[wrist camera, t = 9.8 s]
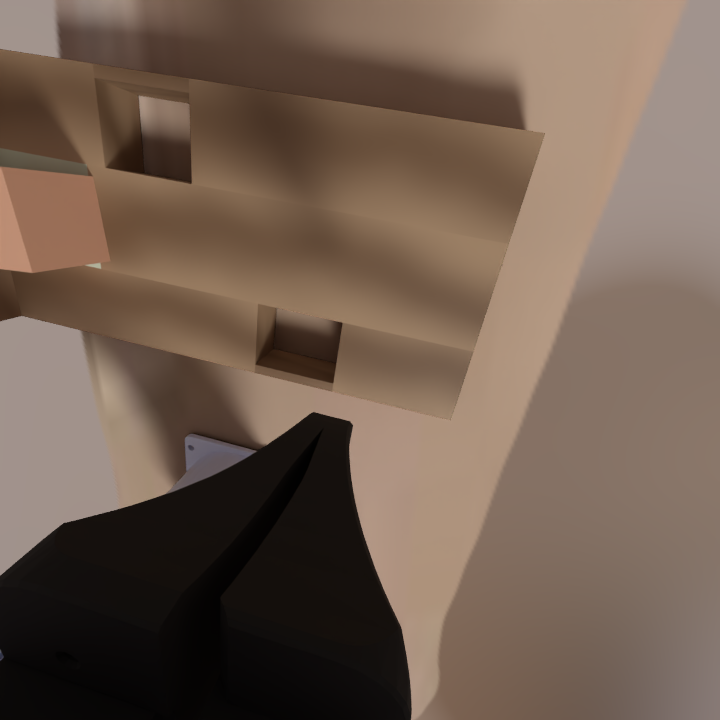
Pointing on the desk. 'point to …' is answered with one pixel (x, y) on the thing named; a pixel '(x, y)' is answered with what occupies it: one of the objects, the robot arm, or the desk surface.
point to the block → (49, 221)
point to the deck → (273, 226)
